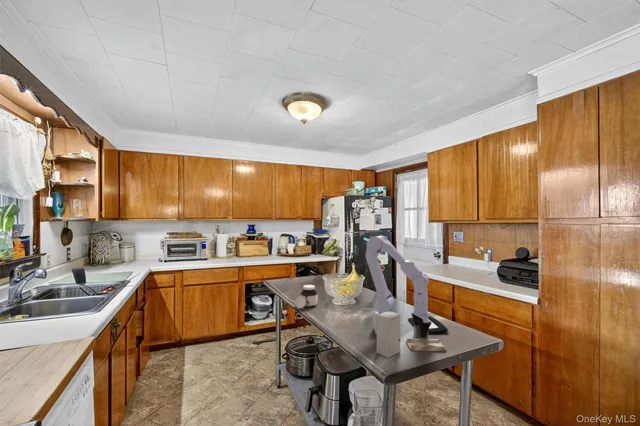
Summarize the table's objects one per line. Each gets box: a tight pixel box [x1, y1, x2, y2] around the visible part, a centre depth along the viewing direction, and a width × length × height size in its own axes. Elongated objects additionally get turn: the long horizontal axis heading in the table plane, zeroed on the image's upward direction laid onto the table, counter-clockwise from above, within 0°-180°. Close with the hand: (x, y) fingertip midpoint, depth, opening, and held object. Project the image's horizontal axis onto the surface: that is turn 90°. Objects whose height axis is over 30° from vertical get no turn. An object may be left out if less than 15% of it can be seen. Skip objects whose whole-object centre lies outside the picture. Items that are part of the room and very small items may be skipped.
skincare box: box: [376, 311, 401, 359], centre depth 113 cm, size 8×6×15 cm
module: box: [413, 325, 429, 339], centre depth 126 cm, size 5×4×6 cm
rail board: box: [405, 337, 447, 352], centre depth 118 cm, size 14×7×2 cm, turn 87°
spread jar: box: [295, 284, 319, 309], centre depth 170 cm, size 12×11×12 cm
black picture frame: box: [407, 315, 449, 335], centre depth 141 cm, size 20×3×14 cm
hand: (420, 333), depth 126 cm, fingers open, 7 cm apart
